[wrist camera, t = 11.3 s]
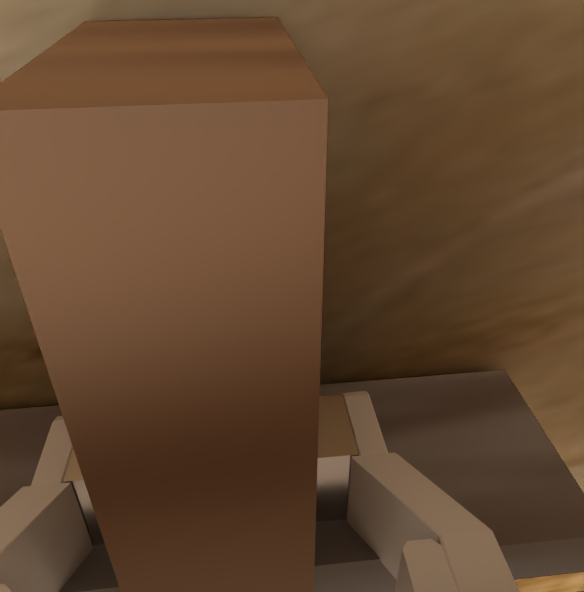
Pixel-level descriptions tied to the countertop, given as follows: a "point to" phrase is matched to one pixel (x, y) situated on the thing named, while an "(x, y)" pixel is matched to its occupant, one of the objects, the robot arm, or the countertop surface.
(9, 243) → the scraper
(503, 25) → the countertop surface
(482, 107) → the countertop surface
